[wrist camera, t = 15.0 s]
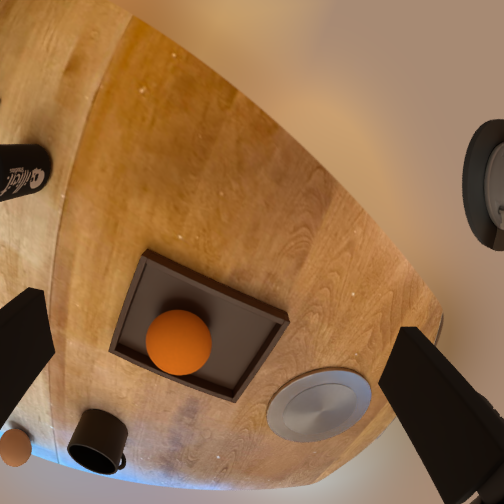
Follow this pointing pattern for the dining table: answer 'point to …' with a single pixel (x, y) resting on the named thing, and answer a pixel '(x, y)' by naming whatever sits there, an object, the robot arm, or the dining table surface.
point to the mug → (99, 442)
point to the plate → (318, 404)
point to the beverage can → (22, 169)
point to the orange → (178, 342)
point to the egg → (15, 447)
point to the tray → (213, 315)
